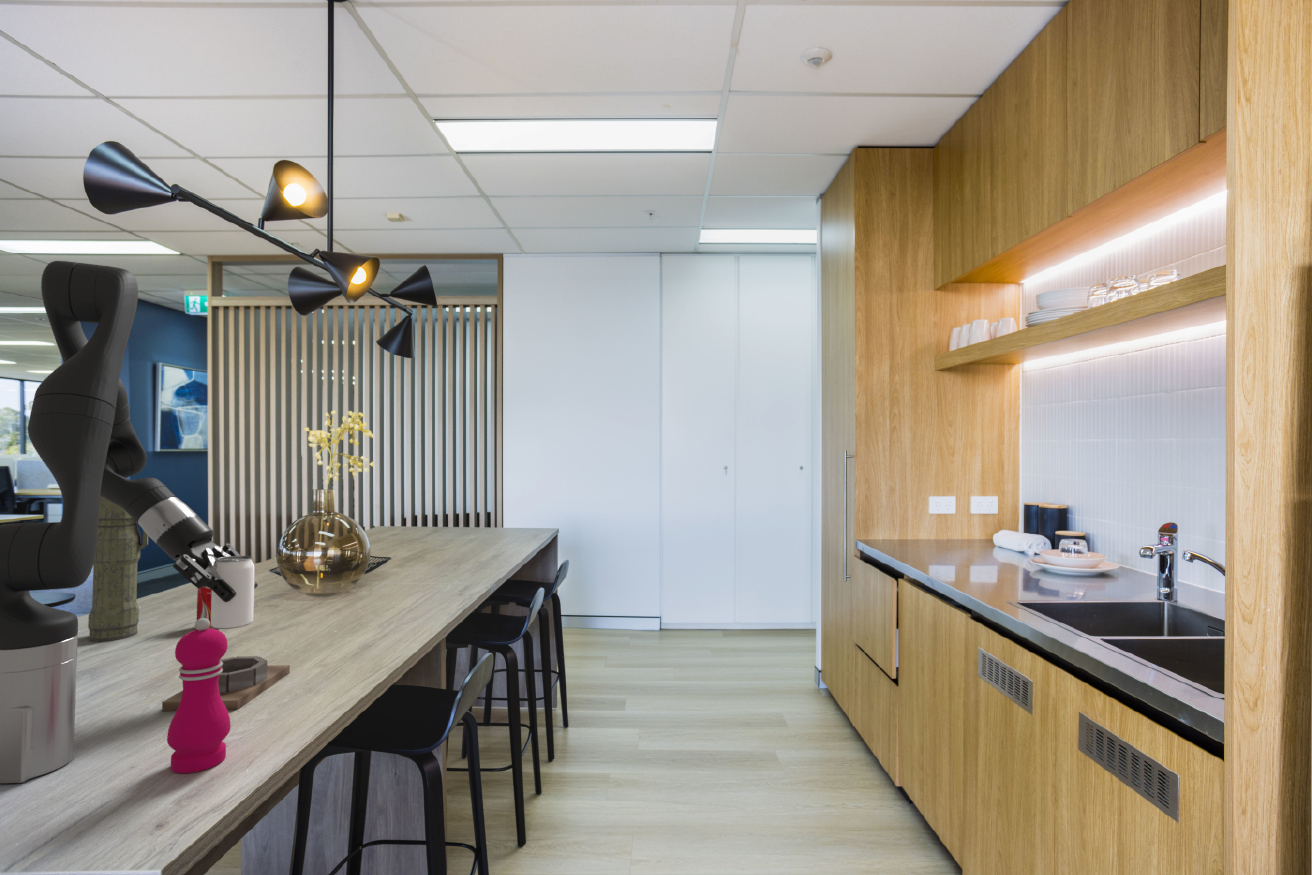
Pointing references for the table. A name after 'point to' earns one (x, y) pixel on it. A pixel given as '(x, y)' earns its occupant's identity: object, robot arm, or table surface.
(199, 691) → the pepper mill
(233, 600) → the can
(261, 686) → the socket board
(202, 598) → the soda can
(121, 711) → the table surface
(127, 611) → the thermos
